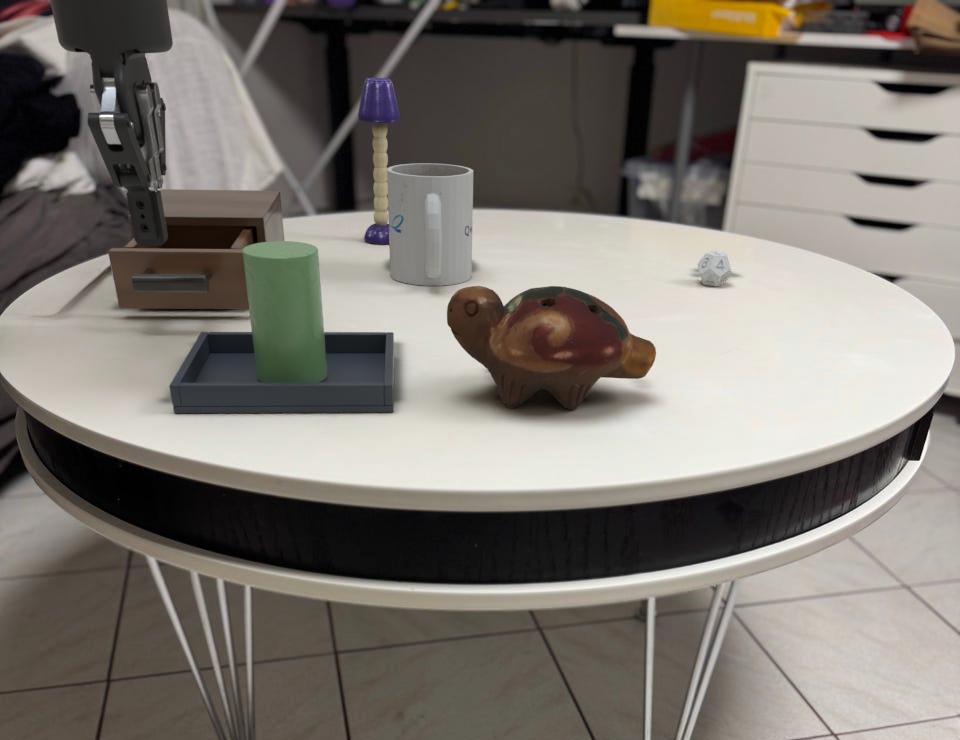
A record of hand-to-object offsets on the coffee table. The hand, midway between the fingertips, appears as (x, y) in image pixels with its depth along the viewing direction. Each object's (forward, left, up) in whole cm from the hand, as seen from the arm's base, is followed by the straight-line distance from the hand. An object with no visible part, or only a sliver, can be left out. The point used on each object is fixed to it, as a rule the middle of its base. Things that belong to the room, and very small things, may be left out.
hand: (152, 243), depth 70 cm
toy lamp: (+17, +40, -8) cm, 44 cm away
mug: (+22, +22, -8) cm, 32 cm away
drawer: (0, +12, -7) cm, 14 cm away
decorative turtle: (+30, -12, -8) cm, 33 cm away
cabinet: (0, +25, -8) cm, 26 cm away
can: (+11, -9, -7) cm, 16 cm away
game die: (+52, +21, -8) cm, 57 cm away
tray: (+11, -9, -8) cm, 16 cm away
